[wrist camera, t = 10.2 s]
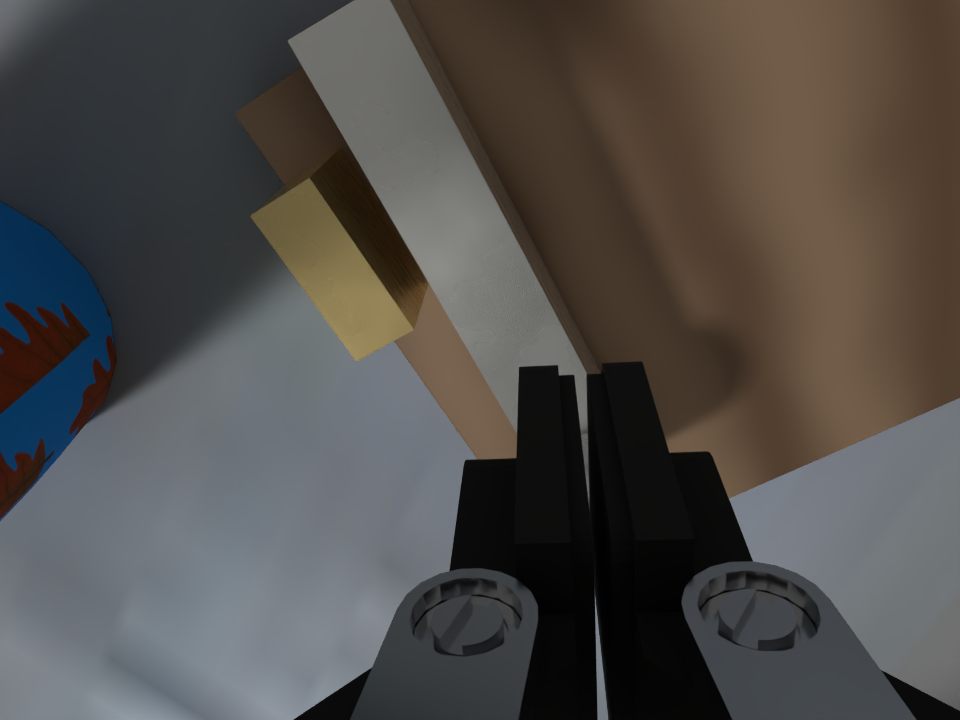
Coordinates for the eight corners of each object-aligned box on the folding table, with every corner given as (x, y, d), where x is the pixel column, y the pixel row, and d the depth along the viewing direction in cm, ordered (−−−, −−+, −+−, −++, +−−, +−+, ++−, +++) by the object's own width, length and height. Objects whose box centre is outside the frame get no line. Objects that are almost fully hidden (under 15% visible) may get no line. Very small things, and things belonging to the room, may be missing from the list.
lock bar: (656, 455, 29) (673, 516, 26) (563, 492, 30) (568, 556, 27) (410, -26, 23) (390, -25, 20) (302, 39, 24) (266, 51, 21)
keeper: (378, 309, 28) (356, 361, 24) (288, 180, 26) (249, 215, 22) (429, 281, 27) (414, 329, 23) (340, 147, 25) (309, 177, 22)
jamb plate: (555, 540, 34) (557, 573, 32) (253, 103, 27) (234, 113, 25) (1068, 310, 28) (1104, 334, 27) (855, -308, 22) (884, -333, 20)
